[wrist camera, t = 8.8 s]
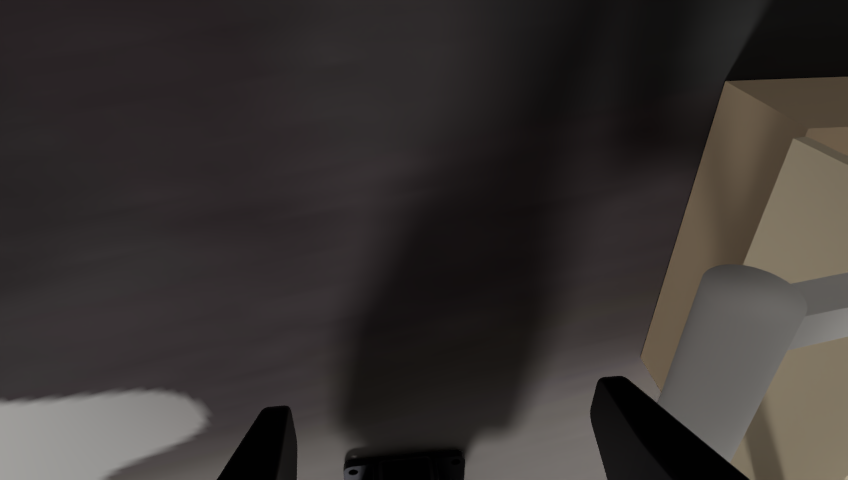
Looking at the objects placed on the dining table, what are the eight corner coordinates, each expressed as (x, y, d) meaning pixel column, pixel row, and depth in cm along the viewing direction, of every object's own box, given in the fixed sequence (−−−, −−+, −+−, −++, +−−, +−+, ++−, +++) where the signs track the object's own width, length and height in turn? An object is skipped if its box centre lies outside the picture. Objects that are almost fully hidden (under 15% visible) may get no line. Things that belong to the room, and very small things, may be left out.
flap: (794, 567, 19) (617, 627, 18) (685, 429, 24) (538, 468, 23) (1034, 245, 12) (761, 301, 10) (806, 136, 17) (596, 163, 15)
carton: (860, 338, 29) (943, 414, 25) (640, 357, 28) (689, 440, 24) (1021, 70, 21) (1179, 118, 17) (725, 80, 20) (819, 135, 16)
